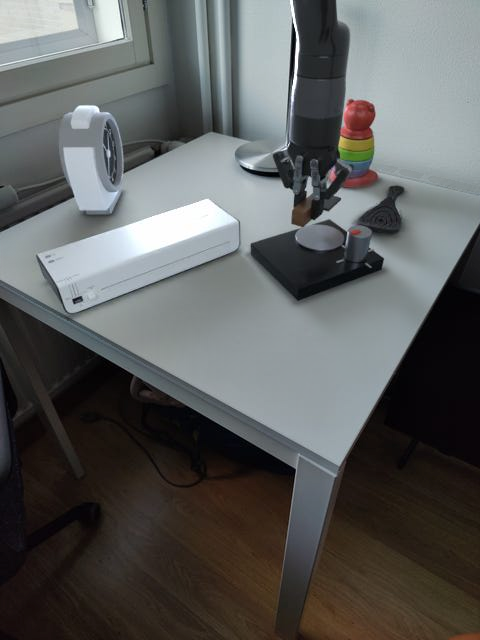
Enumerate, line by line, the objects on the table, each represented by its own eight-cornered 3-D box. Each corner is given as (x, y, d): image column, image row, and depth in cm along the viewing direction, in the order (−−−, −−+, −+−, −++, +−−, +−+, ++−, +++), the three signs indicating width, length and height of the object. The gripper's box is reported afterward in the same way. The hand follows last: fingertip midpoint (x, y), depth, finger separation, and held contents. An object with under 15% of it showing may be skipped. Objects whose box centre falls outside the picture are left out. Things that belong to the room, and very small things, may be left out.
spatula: (318, 194, 84) (320, 180, 82) (341, 200, 82) (343, 186, 80) (285, 222, 77) (286, 207, 75) (308, 229, 75) (310, 215, 73)
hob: (328, 229, 93) (330, 218, 92) (386, 272, 82) (389, 260, 80) (250, 254, 87) (250, 242, 85) (301, 304, 76) (302, 292, 74)
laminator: (210, 225, 95) (208, 198, 91) (244, 252, 88) (243, 223, 84) (45, 283, 81) (34, 253, 77) (69, 321, 74) (58, 290, 69)
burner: (324, 222, 91) (325, 220, 91) (354, 243, 85) (354, 241, 85) (286, 233, 88) (286, 232, 87) (313, 256, 82) (313, 255, 82)
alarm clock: (114, 222, 97) (92, 123, 84) (74, 223, 97) (45, 124, 84) (131, 185, 110) (114, 94, 97) (96, 185, 111) (74, 94, 97)
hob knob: (357, 247, 84) (361, 221, 80) (371, 258, 81) (377, 232, 78) (339, 253, 82) (343, 227, 79) (353, 264, 80) (358, 238, 76)
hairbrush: (419, 180, 103) (396, 227, 86) (415, 195, 106) (392, 244, 88) (382, 174, 106) (353, 218, 89) (379, 189, 108) (350, 235, 91)
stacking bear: (381, 178, 111) (396, 99, 99) (357, 193, 105) (370, 111, 93) (343, 166, 116) (353, 90, 105) (319, 179, 111) (327, 100, 99)
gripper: (373, 108, 65) (354, 217, 77) (288, 93, 71) (283, 196, 83) (350, 123, 61) (335, 237, 72) (262, 106, 67) (260, 213, 78)
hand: (307, 215), depth 78 cm, fingers closed on spatula, 2 cm apart
